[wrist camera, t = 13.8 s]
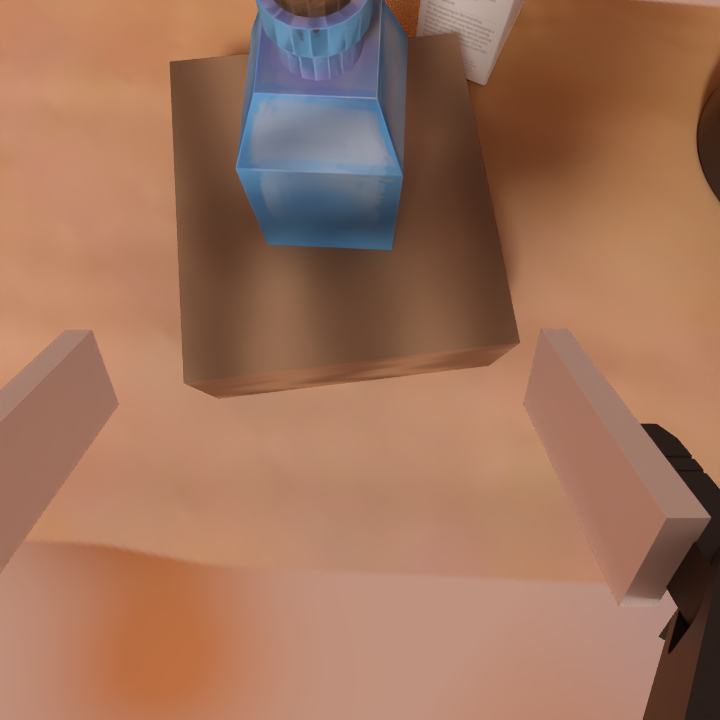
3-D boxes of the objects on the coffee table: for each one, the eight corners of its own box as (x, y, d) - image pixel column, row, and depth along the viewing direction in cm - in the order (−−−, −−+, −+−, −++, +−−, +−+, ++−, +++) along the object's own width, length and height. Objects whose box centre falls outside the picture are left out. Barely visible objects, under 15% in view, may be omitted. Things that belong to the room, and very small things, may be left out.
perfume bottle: (278, 135, 25) (204, -162, 13) (395, 141, 24) (429, -152, 13) (267, 244, 23) (174, 25, 12) (391, 250, 23) (424, 36, 11)
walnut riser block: (439, 111, 32) (457, 32, 26) (486, 367, 28) (520, 342, 22) (205, 136, 31) (169, 61, 26) (220, 399, 28) (183, 383, 22)
